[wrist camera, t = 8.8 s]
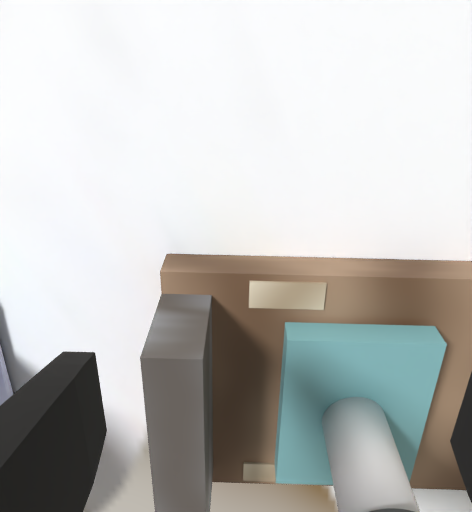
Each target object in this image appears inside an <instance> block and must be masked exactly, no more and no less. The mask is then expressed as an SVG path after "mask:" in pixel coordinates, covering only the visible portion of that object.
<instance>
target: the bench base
mask: <svg viewBox="0 0 472 512" xmlns="http://www.w3.org/2000/svg"><path fill="white" fill-rule="evenodd" d="M160 276H161V291H162V294H161V297H160V300H159V303H158V306H157V309H156V312H155V315H154V318H153V321H152V324H151V327H150V330H149V333H148V336H147V339H146V342H145V345H144V348H143V351H142V354H141V357H140V360H141V370H142V381H143V391H144V401H145V412H146V422H147V432H148V443H149V453H150V463H151V474H152V484H153V494H154V504H155V512H210V502H211V490H212V482H231V483H263V484H279V483H276V477H275V448H276V434H277V421H278V408H279V395H280V382H281V368H282V355H283V342H284V329H285V322H300V323H338V324H375V325H413V326H435V327H436V328H437V330H438V331H439V333H440V335H441V336H442V338H443V339H444V341H445V342H446V344H447V346H446V350H445V353H444V357H443V361H442V364H441V368H440V372H439V375H438V379H437V383H436V386H435V390H434V394H433V397H432V401H431V405H430V409H429V412H428V416H427V420H426V423H425V427H424V431H423V434H422V438H421V442H420V445H419V449H418V453H417V457H416V460H415V464H414V468H413V471H412V475H411V479H410V482H409V483H410V486H411V488H421V489H452V490H466V487H465V485H464V482H463V479H462V476H461V474H460V471H459V468H458V465H457V462H456V459H455V455H454V452H453V449H452V446H451V443H450V439H451V436H452V433H453V430H454V426H455V423H456V420H457V417H458V414H459V410H460V407H461V404H462V401H463V397H464V394H465V391H466V388H467V385H468V381H469V378H470V375H471V372H472V261H440V260H399V259H358V258H317V257H276V256H235V255H194V254H167V255H166V257H165V260H164V263H163V265H162V268H161V271H160ZM295 485H296V484H295ZM297 485H310V484H297ZM326 486H334V485H326Z"/></svg>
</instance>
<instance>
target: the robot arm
mask: <svg viewBox="0 0 472 512" xmlns="http://www.w3.org/2000/svg"><path fill="white" fill-rule="evenodd" d="M106 432H107V429H106V423H105V416H104V409H103V403H102V396H101V390H100V383H99V376H98V370H97V363H96V356H95V353H94V352H62V353H61V354H60V355H59V356H57V357H56V358H55V359H54V360H53V361H51V362H50V363H49V364H48V365H47V366H46V367H44V368H43V369H42V370H41V371H40V372H39V373H38V374H36V375H35V376H34V377H33V378H32V379H31V380H29V381H28V382H27V383H26V384H25V385H24V386H23V387H21V388H20V389H19V390H18V391H17V392H16V393H14V394H13V391H12V388H11V384H10V380H9V376H8V372H7V369H6V365H5V361H4V357H3V353H2V349H1V346H0V512H83V510H84V507H85V505H86V502H87V499H88V497H89V494H90V491H91V488H92V486H93V483H94V479H95V475H96V472H97V468H98V464H99V460H100V456H101V452H102V448H103V444H104V440H105V436H106ZM450 443H451V446H452V449H453V452H454V455H455V459H456V462H457V465H458V468H459V471H460V474H461V476H462V479H463V482H464V485H465V487H466V490H467V493H468V496H469V498H470V500H471V502H472V372H471V375H470V378H469V381H468V385H467V388H466V391H465V394H464V397H463V401H462V404H461V407H460V410H459V414H458V417H457V420H456V423H455V426H454V430H453V433H452V436H451V439H450Z"/></svg>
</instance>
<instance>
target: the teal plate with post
mask: <svg viewBox="0 0 472 512" xmlns="http://www.w3.org/2000/svg"><path fill="white" fill-rule="evenodd" d="M446 346H447V344H446V342H445V341H444V339H443V338H442V336H441V335H440V333H439V331H438V330H437V328H436V327H435V326H413V325H375V324H338V323H300V322H285V329H284V342H283V355H282V368H281V382H280V395H279V408H278V421H277V434H276V448H275V477H276V483H279V484H310V485H334V490H335V496H336V501H337V506H338V511H339V512H420V511H419V508H418V505H417V502H416V500H415V497H414V494H413V491H412V488H411V486H410V483H409V482H410V479H411V475H412V471H413V468H414V464H415V460H416V457H417V453H418V449H419V445H420V442H421V438H422V434H423V431H424V427H425V423H426V420H427V416H428V412H429V409H430V405H431V401H432V397H433V394H434V390H435V386H436V383H437V379H438V375H439V372H440V368H441V364H442V361H443V357H444V353H445V350H446Z"/></svg>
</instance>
